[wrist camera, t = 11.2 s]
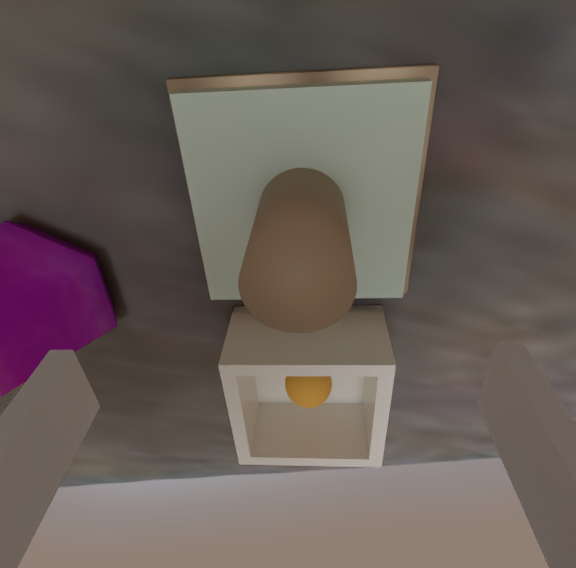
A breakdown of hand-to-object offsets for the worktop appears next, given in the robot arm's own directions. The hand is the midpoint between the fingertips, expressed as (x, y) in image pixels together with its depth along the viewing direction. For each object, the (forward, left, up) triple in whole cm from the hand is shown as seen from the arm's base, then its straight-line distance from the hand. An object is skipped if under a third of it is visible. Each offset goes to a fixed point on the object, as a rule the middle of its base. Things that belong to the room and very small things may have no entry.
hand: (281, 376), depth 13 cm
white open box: (0, -14, -15) cm, 20 cm away
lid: (0, 0, -14) cm, 14 cm away
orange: (0, -14, -12) cm, 18 cm away
